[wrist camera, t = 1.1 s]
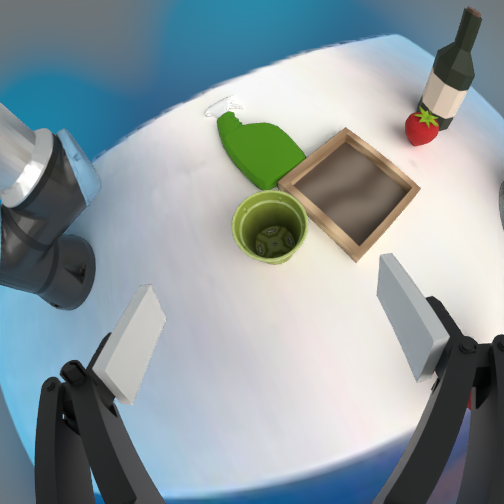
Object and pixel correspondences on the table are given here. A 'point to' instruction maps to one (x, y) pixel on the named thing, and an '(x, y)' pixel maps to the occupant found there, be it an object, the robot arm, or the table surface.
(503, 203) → the wooden crate with straw
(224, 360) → the table surface
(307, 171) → the square wooden tray
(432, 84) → the wine bottle
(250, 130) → the spray bottle
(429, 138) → the strawberry
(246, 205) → the plant pot
